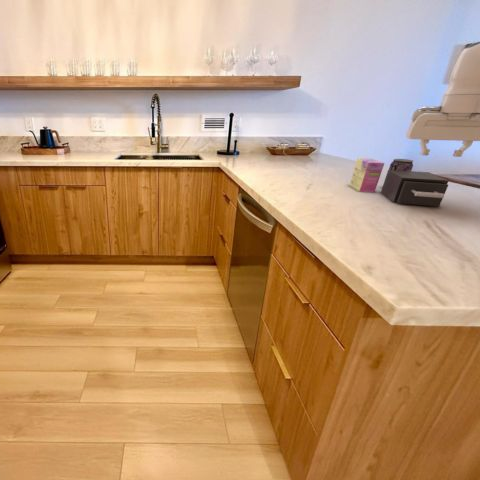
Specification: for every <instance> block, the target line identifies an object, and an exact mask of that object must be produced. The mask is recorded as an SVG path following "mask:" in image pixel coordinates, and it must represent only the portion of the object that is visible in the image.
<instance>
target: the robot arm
mask: <svg viewBox="0 0 480 480" xmlns="http://www.w3.org/2000/svg"><path fill="white" fill-rule="evenodd" d="M405 137H406V139H408V140H418V141H419V140H420V141H419V145H420V148H421V151H420V155H421V156H429V155H430V152H431V149H429V148H428V146H427V144H429V143H430V141H456V142H457V141H458V142H459V141H460V142H461V144H462V146H460V148H458V149H454V151H453V153H452V157H456V158H457V157H458V158H461V157H463V154H464V152H465V151H466V150H467V149H469V148H470V147H471V146H472V145H473V143H474V142H480V41H476V42H473V43H471V44H468V45H467V46H466V47H465V48H463V50H462V51H461V53H460V54H459V56H458V58H457V60H456V62H455V64H454V67H453V69H452V71H451V73H450V77H449V83H448V87H447V89H446V90H445V91H444V93H443V95H442V99H441V101H440V104H439V106H420V108H417V109H416V110H414V111H413V113H412V117H411V122H410V124H409V126H408V128H407V131H406V133H405Z"/></svg>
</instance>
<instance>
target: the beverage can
mask: <svg viewBox="0 0 480 480" xmlns="http://www.w3.org/2000/svg"><path fill="white" fill-rule="evenodd" d="M413 162H414V160H412V159H408V158H407V159H406V158H394V159H393V161H391V162H390V165H389V168H388V170H398V171H413V167H414V164H413Z"/></svg>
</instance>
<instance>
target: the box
mask: <svg viewBox="0 0 480 480" xmlns="http://www.w3.org/2000/svg"><path fill="white" fill-rule="evenodd" d="M384 166H385V162H382V161H379V160H376V159H374V158H369V157H368V158H367V157H366V158H365V157H363V158H362V157H357V158H356V161H355V165H354V168H353V172H352V175H351V178H350V182H349V185H348V186H349V187H351V188H352V189H354V190H355V191H358V192H360V193H375V192H376V189H377V186H378V184H379V181H380V177H381V176H382V172H383V170H384Z"/></svg>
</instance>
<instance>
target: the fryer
mask: <svg viewBox="0 0 480 480" xmlns="http://www.w3.org/2000/svg"><path fill="white" fill-rule="evenodd" d="M404 180H409V181H424V182H439V183H442V184H448V183H449V180H448V179H445V178H443V177H441V176H439V175H437V174H434V173H431V172H429V171H415V170H411V171H398V170H389V169H388V170H387V172H386V175H385V178H384V182H383V184H382V188H381V191H380V193H381V194H382V195H383V196H385V198H387V200H390V201H391V203H393V204H399V203H398V202H397V198H398V195H399V192H400V190H401V187H402V184H403V181H404ZM403 204H405V203H403ZM405 205H406V204H405ZM414 205H415V206H416V205H417V204H414ZM417 206H418V205H417ZM425 206H427V207H429V206H428V205H425ZM437 207H438V208H439V206H436V208H437Z"/></svg>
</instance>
